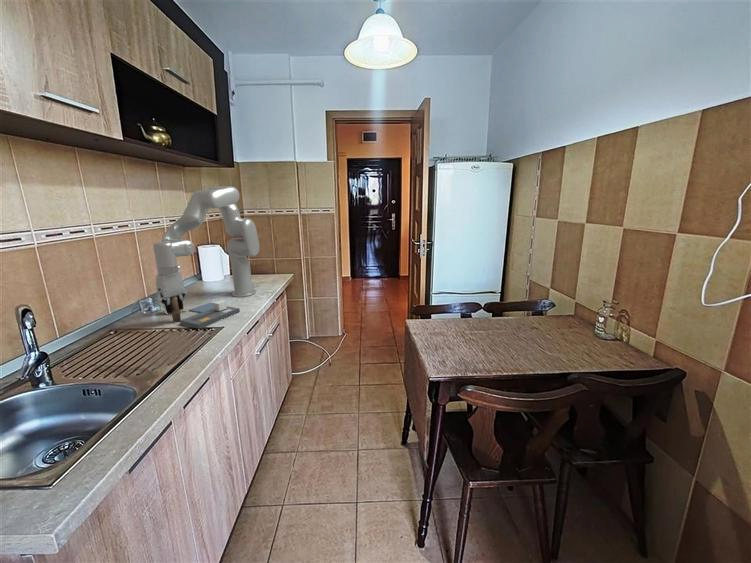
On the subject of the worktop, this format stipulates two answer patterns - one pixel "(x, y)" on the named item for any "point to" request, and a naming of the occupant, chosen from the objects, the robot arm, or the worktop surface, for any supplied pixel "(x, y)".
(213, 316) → the switch board
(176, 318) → the dowel
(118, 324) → the worktop surface
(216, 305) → the white cube
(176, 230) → the robot arm
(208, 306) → the tool mat
